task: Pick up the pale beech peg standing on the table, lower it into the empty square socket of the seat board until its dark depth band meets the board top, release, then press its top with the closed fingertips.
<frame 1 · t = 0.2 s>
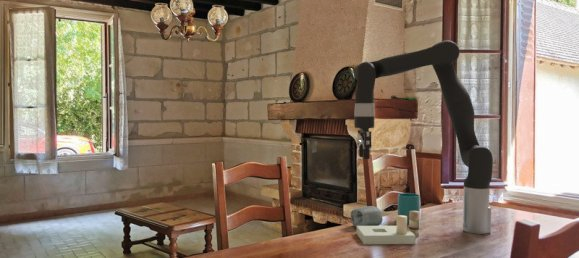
hand: (364, 158, 177), 28 cm above the table, tool pointing down, fingers open, 8 cm apart
cup: (410, 221, 197), on the table
spool: (366, 227, 186), on the table
peg: (414, 235, 173), on the table
seat board: (384, 238, 169), on the table
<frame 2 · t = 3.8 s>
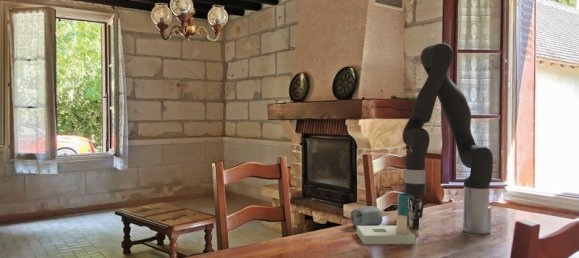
hand: (414, 227, 173), 3 cm above the table, tool pointing down, fingers closed on peg, 3 cm apart
peg: (414, 235, 173), on the table, touching gripper
everything else where it was.
when the fingers open (5 cm above the table, at t = 8.5 s): peg drops 1 cm, resting in seat board.
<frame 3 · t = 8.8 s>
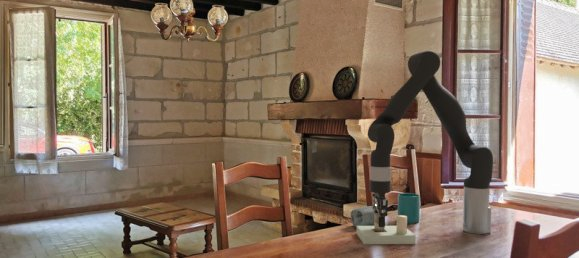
hand: (379, 224, 168), 5 cm above the table, tool pointing down, fingers open, 6 cm apart
peg: (379, 238, 169), resting in seat board
everything else where it was.
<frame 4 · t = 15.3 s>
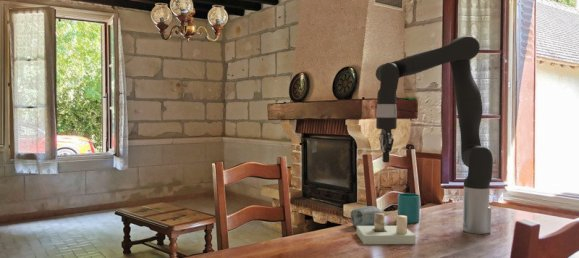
hand: (385, 162, 176), 27 cm above the table, tool pointing down, fingers closed
nothing on the table moved.
at the end: peg 0.0 cm from the target spot on the seat board, point 0.0 cm above the seat board's base; peg tilted 0°; the gripper is holding nothing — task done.
